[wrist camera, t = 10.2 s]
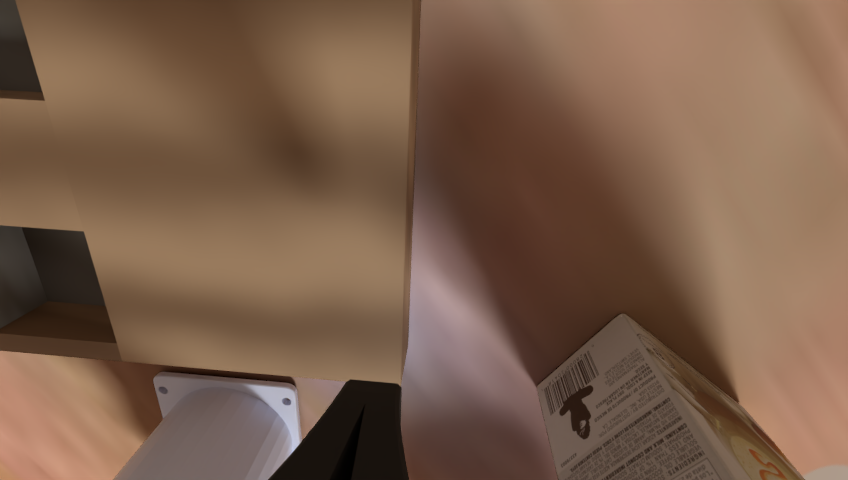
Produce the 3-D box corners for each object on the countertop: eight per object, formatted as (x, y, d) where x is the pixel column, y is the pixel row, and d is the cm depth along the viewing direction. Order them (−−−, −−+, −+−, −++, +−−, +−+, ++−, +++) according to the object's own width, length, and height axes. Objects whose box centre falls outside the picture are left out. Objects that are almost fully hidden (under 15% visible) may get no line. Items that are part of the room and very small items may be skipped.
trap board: (407, 344, 21) (400, 386, 18) (-133, 299, 23) (-214, 331, 20) (424, -84, 14) (416, -120, 11) (-359, -109, 16) (-533, -146, 13)
